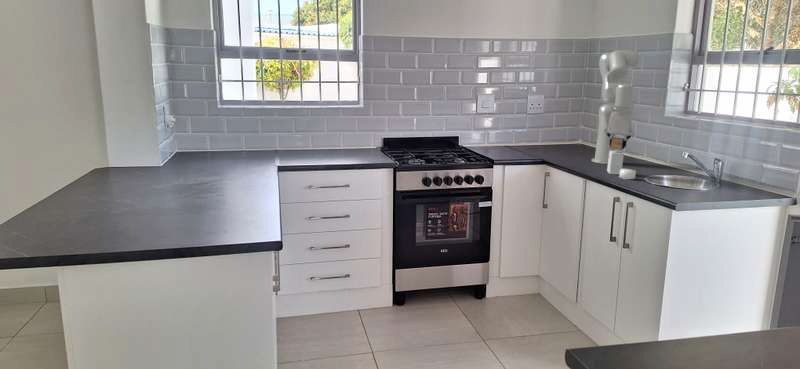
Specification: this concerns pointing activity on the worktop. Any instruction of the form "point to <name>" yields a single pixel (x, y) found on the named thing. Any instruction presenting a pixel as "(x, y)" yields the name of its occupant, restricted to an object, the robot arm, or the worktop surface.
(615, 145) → the walnut cube
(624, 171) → the white small lump
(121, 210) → the worktop surface
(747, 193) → the worktop surface
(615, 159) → the small box
